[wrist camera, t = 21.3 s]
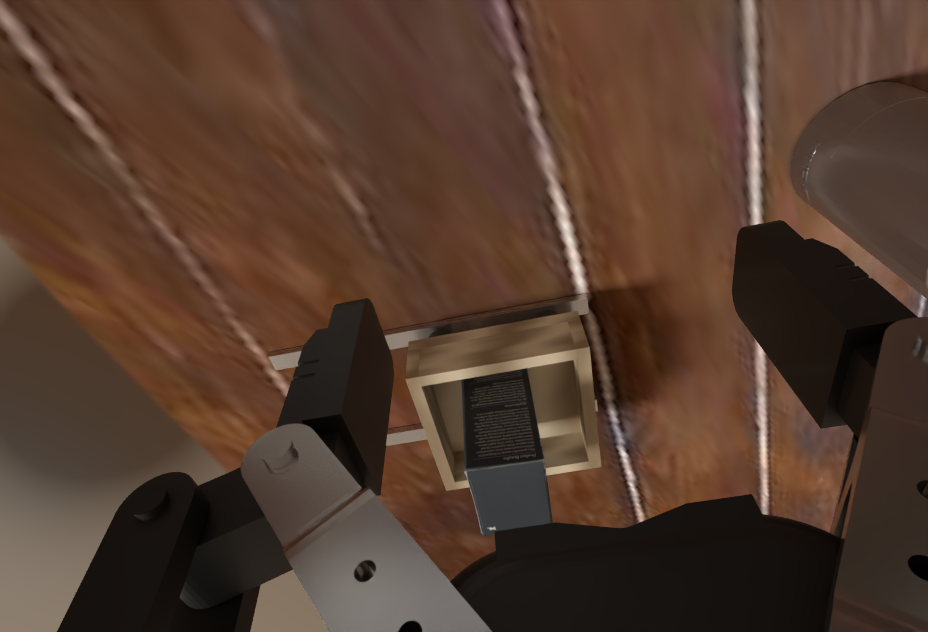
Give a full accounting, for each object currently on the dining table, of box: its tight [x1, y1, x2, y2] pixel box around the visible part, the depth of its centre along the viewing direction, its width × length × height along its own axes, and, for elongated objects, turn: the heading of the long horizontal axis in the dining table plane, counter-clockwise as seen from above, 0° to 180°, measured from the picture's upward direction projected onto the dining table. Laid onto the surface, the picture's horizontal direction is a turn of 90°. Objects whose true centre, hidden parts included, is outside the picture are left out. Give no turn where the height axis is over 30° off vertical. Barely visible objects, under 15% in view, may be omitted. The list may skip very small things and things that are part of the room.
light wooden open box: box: [405, 310, 601, 491], centre depth 48 cm, size 14×14×6 cm
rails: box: [269, 294, 598, 446], centre depth 51 cm, size 28×14×1 cm, turn 102°
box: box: [461, 368, 553, 536], centre depth 44 cm, size 8×6×11 cm
